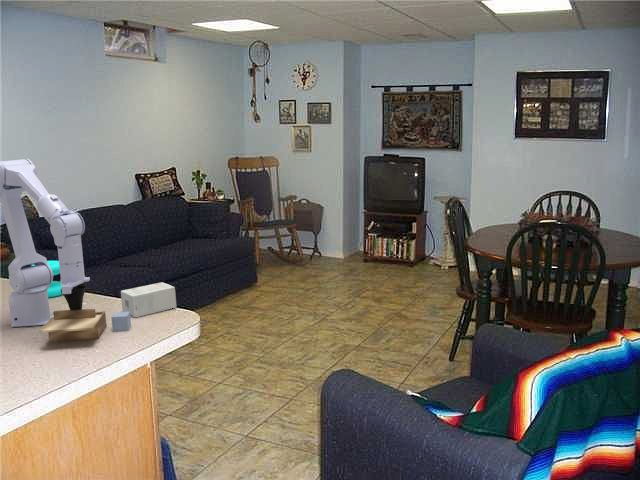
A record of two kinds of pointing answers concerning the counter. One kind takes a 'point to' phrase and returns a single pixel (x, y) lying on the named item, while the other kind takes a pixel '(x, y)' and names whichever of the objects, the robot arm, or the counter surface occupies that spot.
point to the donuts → (55, 285)
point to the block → (121, 321)
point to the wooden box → (81, 332)
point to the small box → (148, 299)
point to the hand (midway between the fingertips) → (76, 313)
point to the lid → (72, 321)
